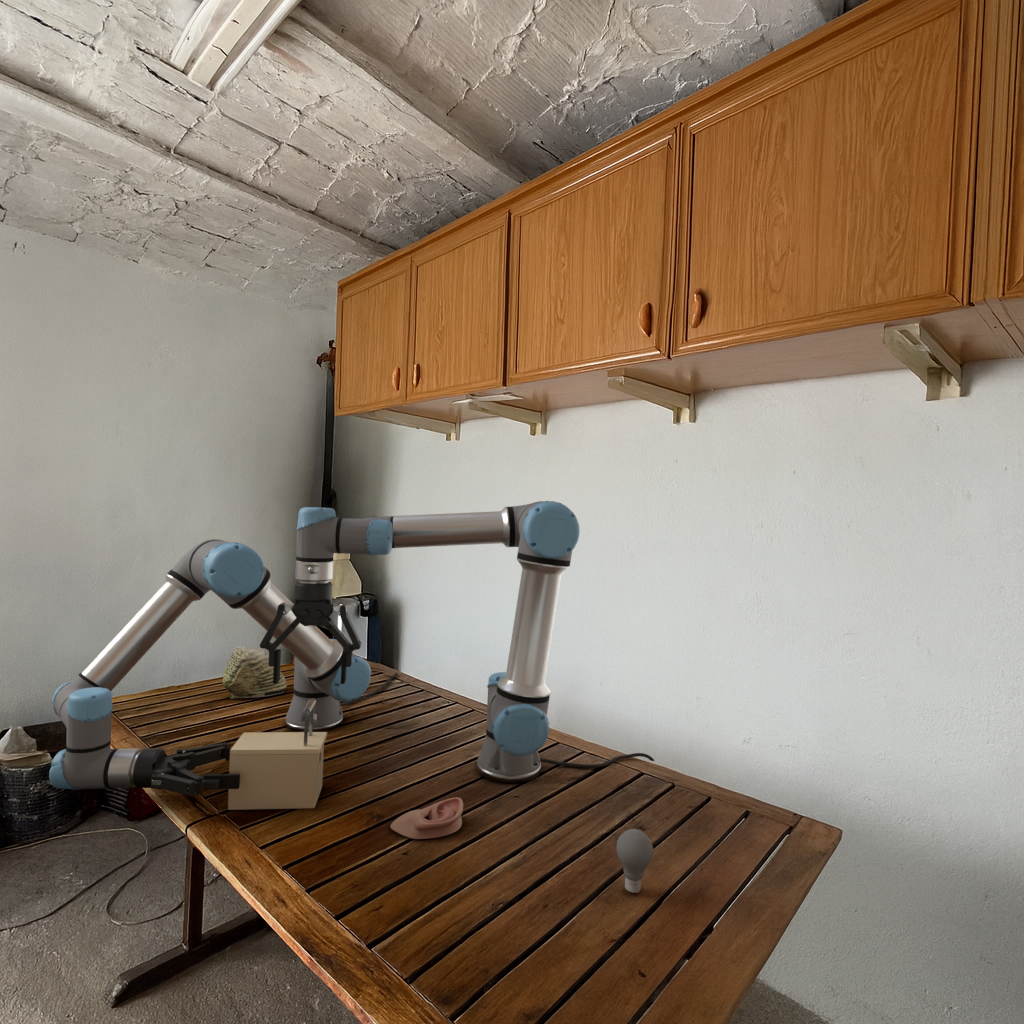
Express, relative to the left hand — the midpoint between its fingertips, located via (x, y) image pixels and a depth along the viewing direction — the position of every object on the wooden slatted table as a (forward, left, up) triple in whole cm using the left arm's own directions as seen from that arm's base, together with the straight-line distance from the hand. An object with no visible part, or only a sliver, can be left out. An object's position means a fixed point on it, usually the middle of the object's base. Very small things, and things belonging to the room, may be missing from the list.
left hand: (249, 766), depth 132 cm
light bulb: (-27, +75, -7) cm, 80 cm away
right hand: (-8, +8, +18) cm, 21 cm away
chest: (-4, +4, -7) cm, 9 cm away
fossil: (-36, -62, -7) cm, 72 cm away
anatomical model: (-18, +35, -7) cm, 40 cm away
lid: (-4, +4, +4) cm, 8 cm away
